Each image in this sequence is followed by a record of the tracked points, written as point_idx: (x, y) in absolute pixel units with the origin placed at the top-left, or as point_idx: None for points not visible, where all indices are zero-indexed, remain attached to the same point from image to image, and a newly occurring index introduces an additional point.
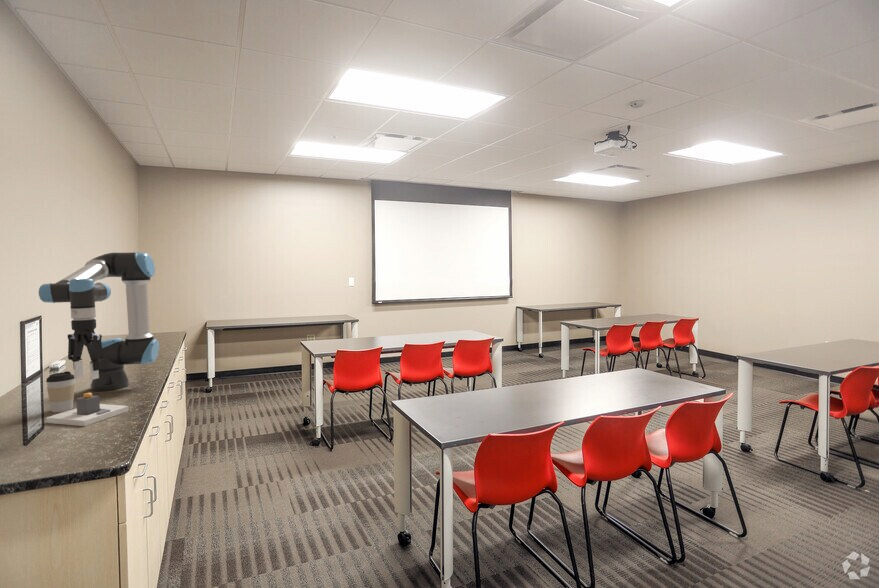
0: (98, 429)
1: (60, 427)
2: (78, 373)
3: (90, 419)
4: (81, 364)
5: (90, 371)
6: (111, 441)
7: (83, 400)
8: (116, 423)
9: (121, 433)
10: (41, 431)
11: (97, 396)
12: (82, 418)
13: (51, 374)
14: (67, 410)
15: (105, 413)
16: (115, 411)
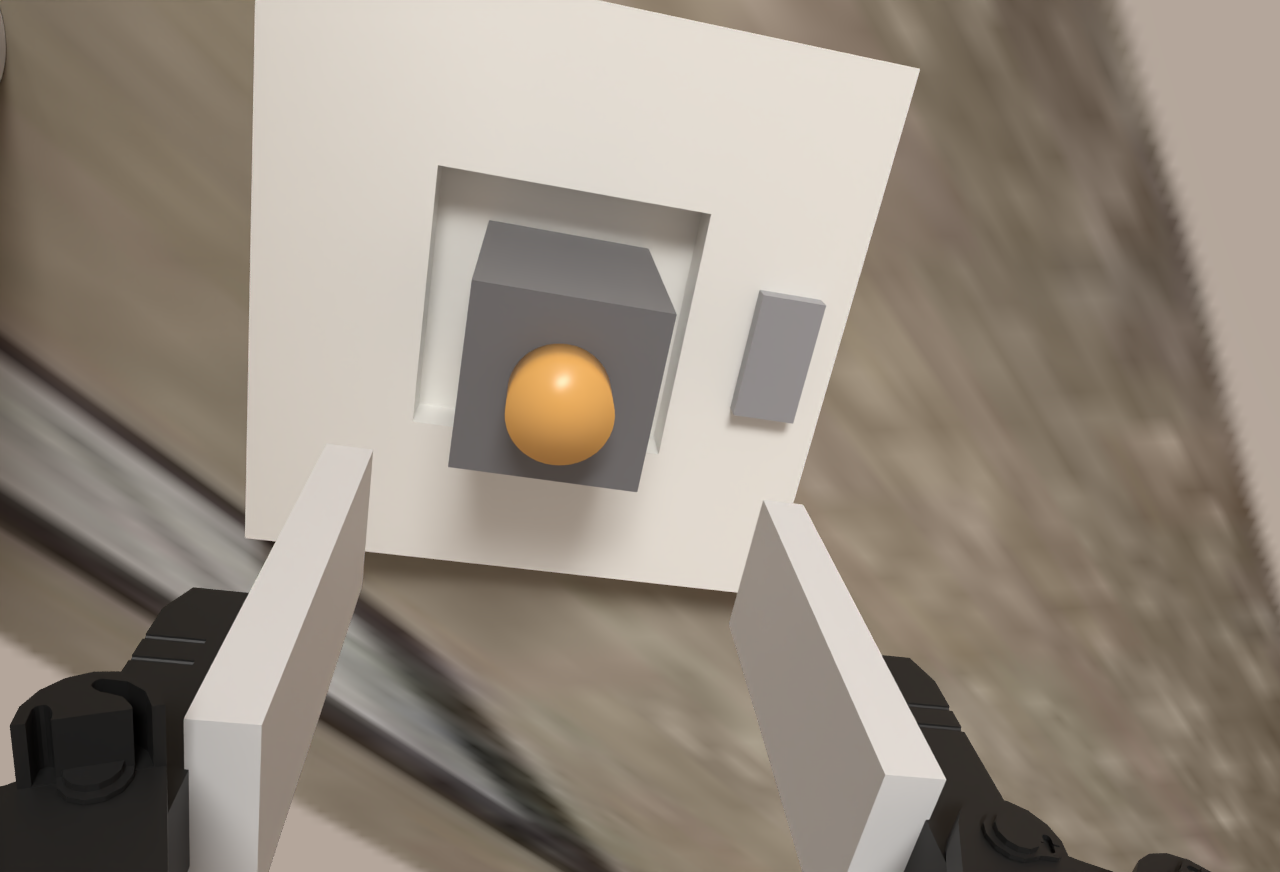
0: (935, 622)
1: (544, 605)
2: (342, 603)
3: None
4: (294, 670)
5: (771, 742)
6: (1178, 801)
7: (579, 476)
8: (1004, 482)
9: (1176, 679)
10: (465, 694)
11: (670, 339)
12: (686, 539)
13: None
14: (4, 60)
15: (818, 380)
16: (858, 263)
